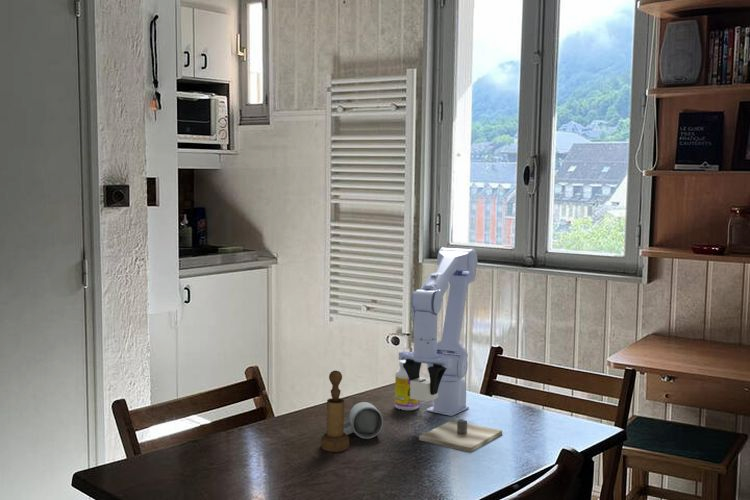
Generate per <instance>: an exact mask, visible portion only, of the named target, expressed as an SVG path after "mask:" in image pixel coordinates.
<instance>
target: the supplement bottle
mask: <svg viewBox="0 0 750 500" xmlns="http://www.w3.org/2000/svg"><path fill="white" fill-rule="evenodd" d="M405 362H406V360H399V369H397V370H396V371H395V380H394V381H395V382H394V384H395V385H394V387H395V388H394V389H395V390H394V406H395V408H396V409H399V410H400V409H401V411H414V410H418V409H419V408H420V400H415V399H410V381H409V377H408V375H407V372H406V370H405V369H404V367H403V363H405ZM419 377H421V374H419Z"/></svg>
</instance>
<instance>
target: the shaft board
mask: <svg viewBox="0 0 750 500" xmlns="http://www.w3.org/2000/svg"><path fill="white" fill-rule="evenodd" d="M502 435H503V430H502V429H498V428H492V427H487V426H483V425H478V424H473V423H469V422H468V420H465V419H458V420H455V419H451V420H449V421H447V422H445V423H443V424H442V425H439V426H437V427H435V428H433V429H431V430H429V431H427V432H425V433H422V434H420V435H419V436H418V440H419V441H422V442H425V443H430V444H434V445H439V446H443V447H447V448H451V449H456V450H460V451H464V452H469V453H472V452H474V451H475V450H477V449H479V448H480V447H483V446H485V445H486V444H488V443H489V442H491V441H493V440H495V439H496V438H498V437H500V436H502Z"/></svg>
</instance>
